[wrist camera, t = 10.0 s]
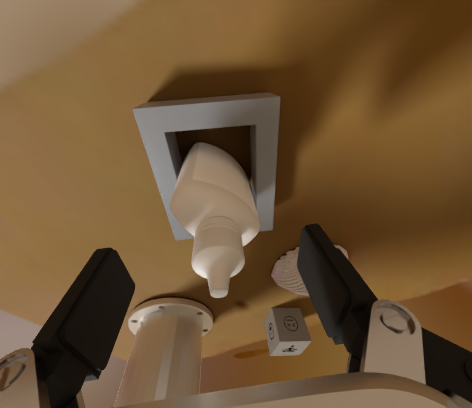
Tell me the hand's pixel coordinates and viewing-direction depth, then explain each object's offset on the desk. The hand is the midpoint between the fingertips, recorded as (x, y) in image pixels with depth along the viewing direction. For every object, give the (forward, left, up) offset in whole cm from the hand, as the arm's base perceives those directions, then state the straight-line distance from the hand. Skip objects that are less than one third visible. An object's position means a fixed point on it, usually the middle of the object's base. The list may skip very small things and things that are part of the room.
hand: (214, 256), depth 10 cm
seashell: (-15, -11, -10) cm, 21 cm away
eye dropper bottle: (+1, 0, -10) cm, 10 cm away
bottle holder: (+1, 0, -10) cm, 9 cm away
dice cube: (-28, -8, -10) cm, 30 cm away
